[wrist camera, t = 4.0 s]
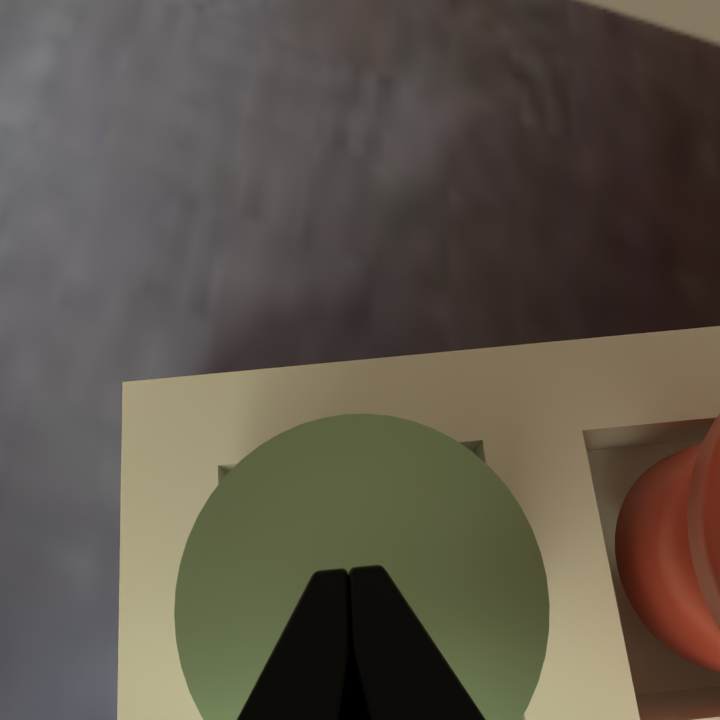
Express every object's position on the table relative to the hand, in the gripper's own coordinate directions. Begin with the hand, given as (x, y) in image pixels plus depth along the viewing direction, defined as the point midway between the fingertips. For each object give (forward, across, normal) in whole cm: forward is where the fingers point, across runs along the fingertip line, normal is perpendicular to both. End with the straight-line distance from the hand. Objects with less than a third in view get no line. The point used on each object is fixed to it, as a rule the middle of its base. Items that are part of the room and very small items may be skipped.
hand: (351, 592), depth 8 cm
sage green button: (+6, 0, +6) cm, 9 cm away
